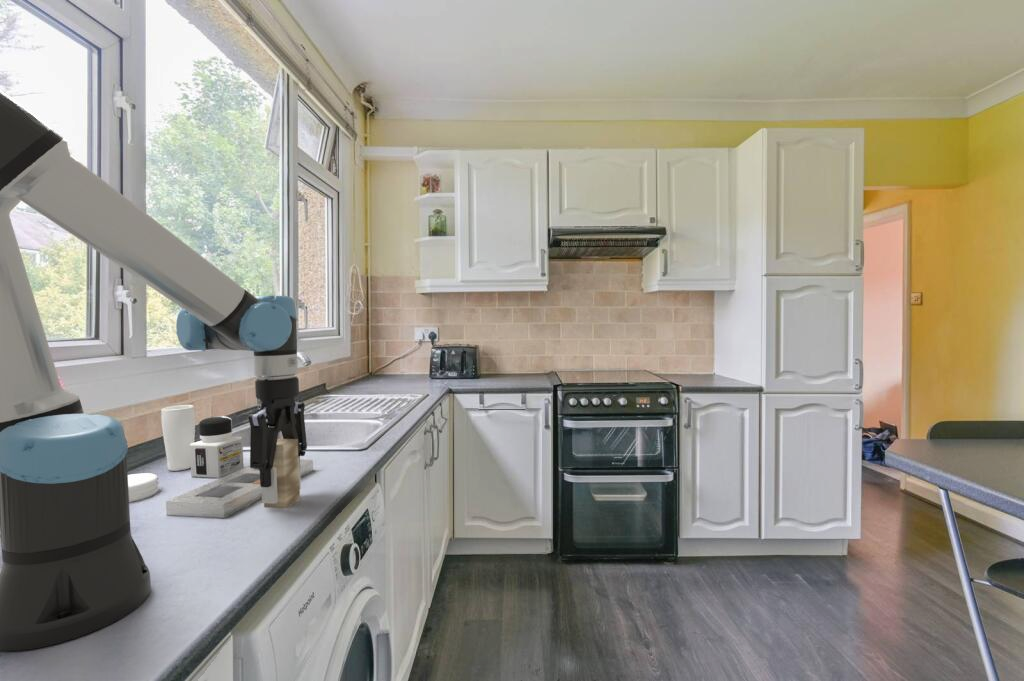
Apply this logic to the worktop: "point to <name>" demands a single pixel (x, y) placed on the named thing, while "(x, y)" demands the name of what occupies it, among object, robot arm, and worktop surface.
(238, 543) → the worktop surface
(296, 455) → the beech peg
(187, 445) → the drinking glass
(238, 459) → the container
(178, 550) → the worktop surface
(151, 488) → the coaster
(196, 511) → the slotted peg board
